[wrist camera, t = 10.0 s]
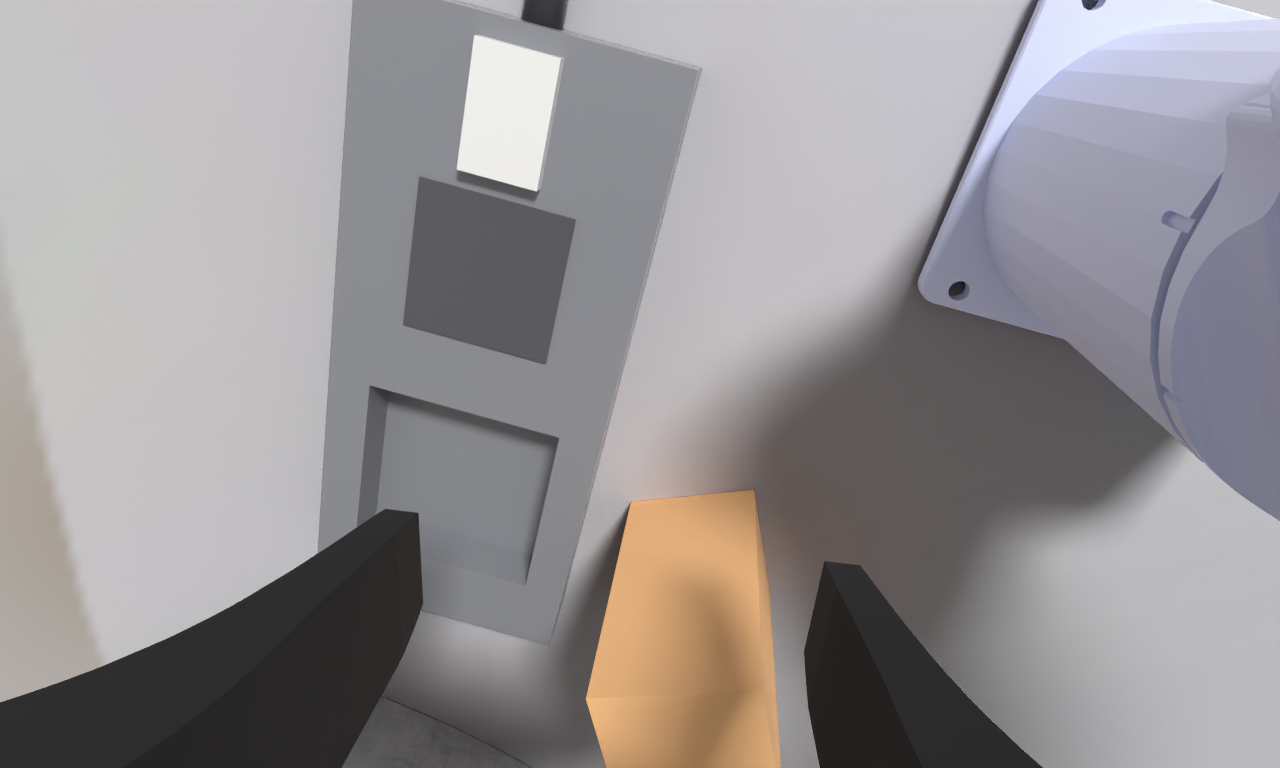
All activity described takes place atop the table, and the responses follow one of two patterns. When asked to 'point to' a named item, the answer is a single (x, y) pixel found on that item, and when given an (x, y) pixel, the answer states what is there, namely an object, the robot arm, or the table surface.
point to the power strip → (489, 287)
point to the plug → (688, 640)
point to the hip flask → (419, 743)
